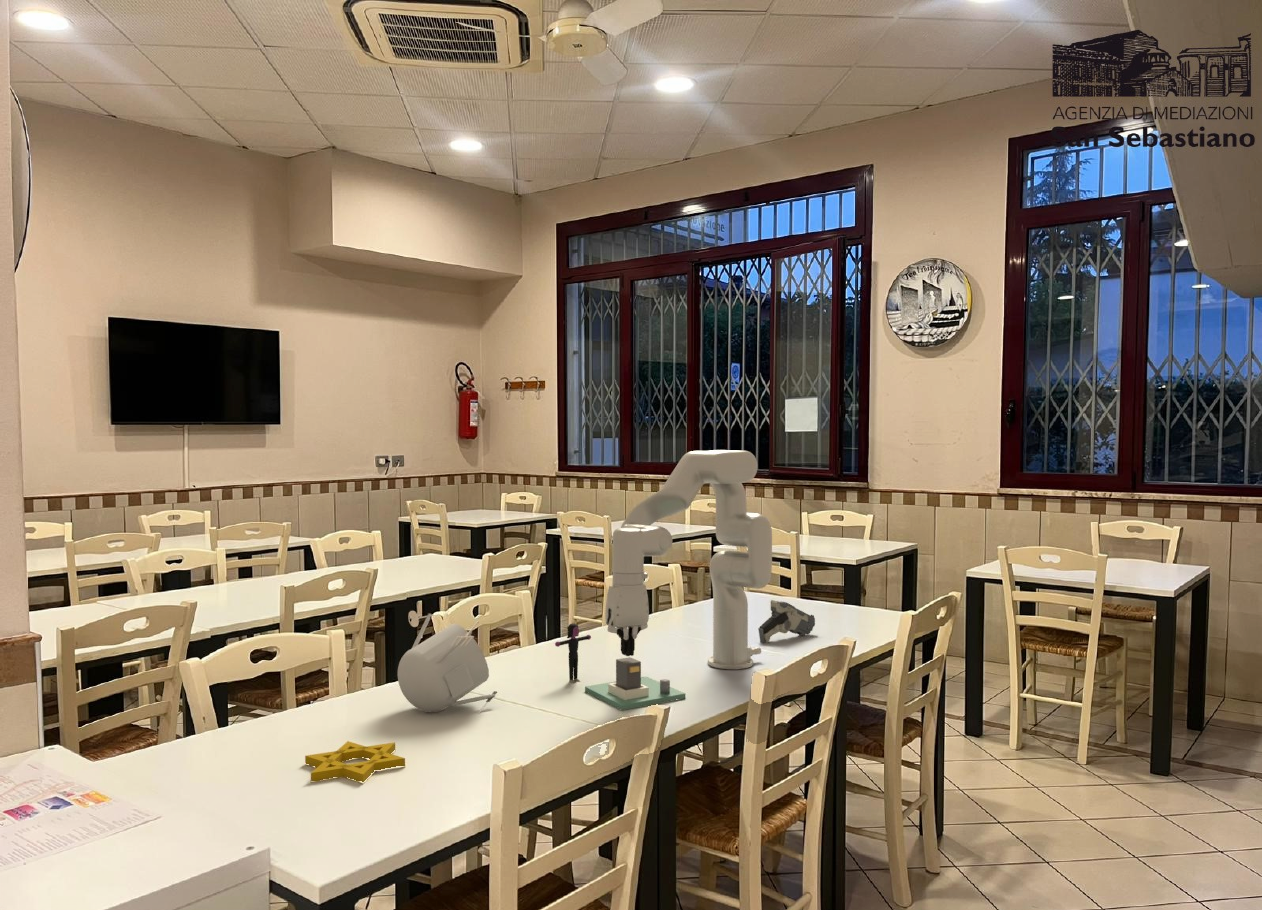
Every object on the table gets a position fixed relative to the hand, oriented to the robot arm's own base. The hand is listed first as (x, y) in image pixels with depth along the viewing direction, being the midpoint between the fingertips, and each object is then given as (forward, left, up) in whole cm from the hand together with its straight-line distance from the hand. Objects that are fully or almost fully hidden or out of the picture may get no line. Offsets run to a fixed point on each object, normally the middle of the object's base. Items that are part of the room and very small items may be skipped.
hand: (627, 654), depth 219 cm
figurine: (+4, -21, -11) cm, 24 cm away
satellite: (+40, -16, -11) cm, 45 cm away
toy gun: (-76, -29, -11) cm, 82 cm away
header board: (-3, -2, -11) cm, 11 cm away
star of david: (+68, +10, -11) cm, 69 cm away
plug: (0, 0, -10) cm, 10 cm away
